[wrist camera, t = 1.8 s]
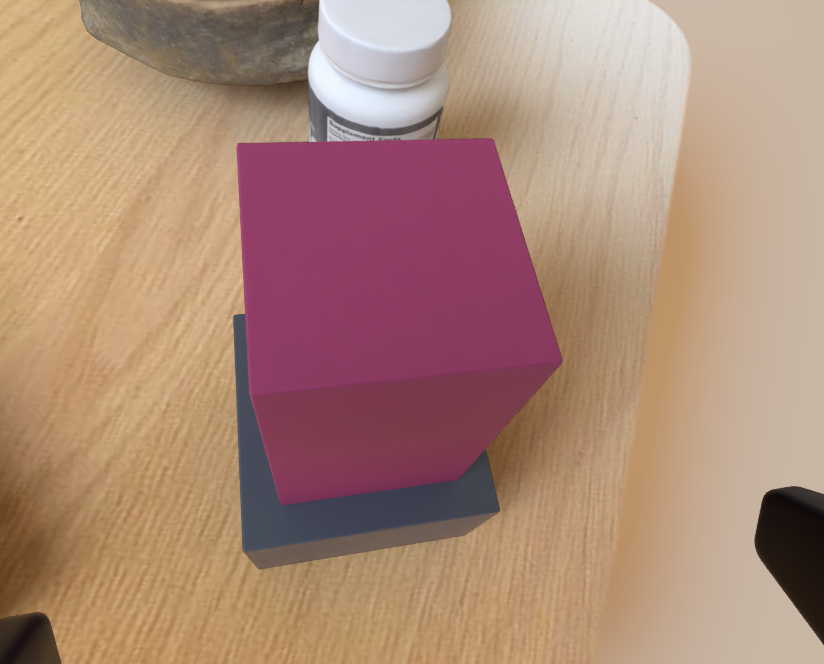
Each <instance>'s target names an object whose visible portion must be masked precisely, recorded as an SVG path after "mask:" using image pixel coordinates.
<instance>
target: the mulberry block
mask: <svg viewBox="0 0 824 664" xmlns="http://www.w3.org/2000/svg"><path fill="white" fill-rule="evenodd" d="M237 163H238V183H239V202H240V222H241V241H242V261H243V280H244V300H245V319H246V339H247V358H248V378H249V394H250V398H251V401H252V405H253V408H254V412H255V415H256V419H257V423H258V426H259V430H260V433H261V437H262V440H263V444H264V447H265V451H266V455H267V458H268V462H269V465H270V469H271V472H272V476H273V479H274V483H275V487H276V490H277V494H278V497H279V501H280V504H281V505H288V504H295V503H302V502H309V501H316V500H323V499H330V498H337V497H344V496H350V495H357V494H364V493H371V492H378V491H385V490H392V489H399V488H406V487H413V486H419V485H426V484H433V483H440V482H447V481H454V480H458V479H459V478H460V477H461V476H462V475H463V474H464V472H465V471H466V470H467V469H468V468H469V467H470V466H471V465H472V463H473V462H474V461H475V460H476V459H477V458H478V457H479V456H480V455H481V453H482V452H483V451H484V450H485V449H486V448H487V447H488V446H489V444H490V443H491V442H492V441H493V440H494V439H495V438H496V437H497V435H498V434H499V433H500V432H501V431H502V430H503V429H504V428H505V426H506V425H507V424H508V423H509V422H510V421H511V420H512V419H513V417H514V416H515V415H516V414H517V413H518V412H519V411H520V410H521V408H522V407H523V406H524V405H525V404H526V403H527V402H528V401H529V399H530V398H531V397H532V396H533V395H534V394H535V393H536V392H537V391H538V389H539V388H540V387H541V386H542V385H543V384H544V383H545V382H546V380H547V379H548V378H549V377H550V376H551V375H552V374H553V373H554V371H555V370H556V369H557V368H558V367H559V366H560V365H561V364H562V361H563V360H562V356H561V353H560V350H559V347H558V344H557V341H556V337H555V334H554V331H553V328H552V325H551V321H550V318H549V315H548V312H547V309H546V305H545V302H544V299H543V296H542V293H541V289H540V286H539V283H538V280H537V277H536V274H535V270H534V267H533V264H532V261H531V258H530V254H529V251H528V248H527V245H526V242H525V238H524V235H523V232H522V229H521V226H520V223H519V219H518V216H517V213H516V210H515V207H514V203H513V200H512V197H511V194H510V191H509V187H508V184H507V181H506V178H505V175H504V172H503V168H502V165H501V162H500V159H499V156H498V152H497V149H496V146H495V143H494V140H493V139H492V138H477V139H427V140H376V141H326V142H276V143H239V144H237Z"/></svg>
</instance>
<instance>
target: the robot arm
mask: <svg viewBox="0 0 824 664" xmlns="http://www.w3.org/2000/svg"><path fill="white" fill-rule="evenodd" d="M755 548H756V551H757V554H758V556H759V558H760V559H761V561H762V562H763V563H764V565H765V566H766V568H767V569H768V570H769V572H770V573H771V574H772V576H773V577H774V578H775V580H776V581H777V582H778V584H779V585H780V586H781V588H782V589H783V591H784V592H785V593H786V595H787V596H788V597H789V599H790V600H791V601H792V603H793V604H794V605H795V607H796V608H797V609H798V611H799V612H800V613H801V615H802V616H803V618H804V619H805V620H806V622H807V623H808V624H809V626H810V627H811V628H812V630H813V631H814V632H815V634H816V635H817V636H818V638H819V639H820V640H821V642H822V643H823V645H824V494H821V493H818V492H815V491H812V490H809V489H805V488H802V487H796V486H791V487H785V488H779V489H773V490H770V491H768V492H767V493H766V494H765V495H764V497H763V500H762V504H761V509H760V514H759V519H758V524H757V529H756V534H755ZM0 664H61V660H60V656H59V653H58V649H57V645H56V642H55V638H54V634H53V630H52V627H51V623H50V621H49V619H48V617H47V616H46V614H44V613H41V612H34V613H28V614H22V615H16V616H10V617H6V618H2V619H0Z"/></svg>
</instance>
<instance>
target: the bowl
mask: <svg viewBox="0 0 824 664" xmlns="http://www.w3.org/2000/svg"><path fill="white" fill-rule="evenodd" d="M79 1H80V6H81V18H82V20H83V23H84V25H85V27H86V30H87V31H88V32H89V33H90V34H91V35H92V36H93V37H94V38H96V39H98V40H100V41H102V42H103V43H105V44H107V45H109V46H111V47H113V48H115V49H117V50H119V51H121V52H123V53H124V54H126V55H128V56H129V57H131V58H133V59H136V60H138V61H140V62H142V63H144V64H146V65H147V66H149V67H151V68H154V69H156V70H158V71H161V72H163V73H165V74H167V75H170V76H174V77H178V78H183V79H187V80H191V81H196V82H204V83H212V84H221V85H273V84H279V83H287V82H295V81H303V80H307V78H308V65H309V59H310V56H311V53H312V51H313V49H314V47H315V45H316V44H317V42H318V41H319V37H318V21H319V0H79Z"/></svg>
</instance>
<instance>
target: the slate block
mask: <svg viewBox="0 0 824 664" xmlns="http://www.w3.org/2000/svg"><path fill="white" fill-rule="evenodd" d="M233 326H234V350H235V375H236V399H237V424H238V448H239V473H240V497H241V522H242V546H243V552H244V553H245V554H246V555H247V557H248V558H249V559H250V560H251V561H252V562H253V563H254V565H255V566H256V567H257V568H258V569H264V568H270V567H276V566H282V565H288V564H294V563H300V562H306V561H312V560H318V559H324V558H330V557H337V556H343V555H349V554H355V553H361V552H367V551H373V550H379V549H385V548H391V547H397V546H403V545H409V544H415V543H421V542H427V541H433V540H439V539H445V538H451V537H457V536H463V535H466V534H468V533H469V532H471V531H472V530H473V529H475V528H476V527H478V526H479V525H481V524H482V523H484V522H485V521H486V520H488V519H489V518H491V517H492V516H494V515H495V514H497V513H498V512H499V511H500V507H499V503H498V499H497V495H496V490H495V486H494V482H493V477H492V473H491V469H490V464H489V460H488V456H487V452H486V449H485V450H484V451H483V452H482V453H481V455H480V456H479V457H478V458H477V459H476V460H475V461H474V462H473V463H472V465H471V466H470V467H469V468H468V469H467V470H466V471H465V472H464V474H463V475H462V476H461V477H460V478H459V479H458V480H454V481H447V482H440V483H433V484H426V485H419V486H413V487H406V488H399V489H392V490H385V491H378V492H371V493H364V494H357V495H350V496H344V497H337V498H330V499H323V500H316V501H309V502H302V503H295V504H288V505H281V504H280V501H279V497H278V494H277V490H276V487H275V483H274V479H273V476H272V472H271V469H270V465H269V462H268V458H267V455H266V451H265V447H264V444H263V440H262V437H261V433H260V430H259V426H258V423H257V419H256V415H255V412H254V408H253V405H252V401H251V398H250V394H249V378H248V358H247V339H246V319H245V314H240V315H234V316H233Z"/></svg>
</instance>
